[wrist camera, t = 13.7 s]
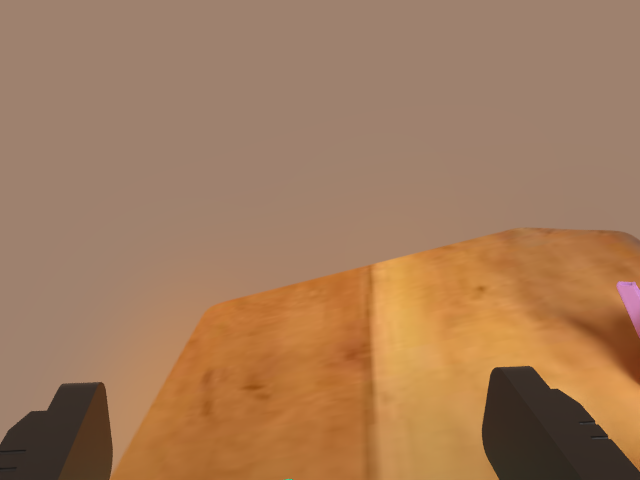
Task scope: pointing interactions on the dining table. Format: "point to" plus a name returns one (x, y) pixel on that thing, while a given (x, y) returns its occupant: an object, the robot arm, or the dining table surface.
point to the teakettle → (631, 302)
